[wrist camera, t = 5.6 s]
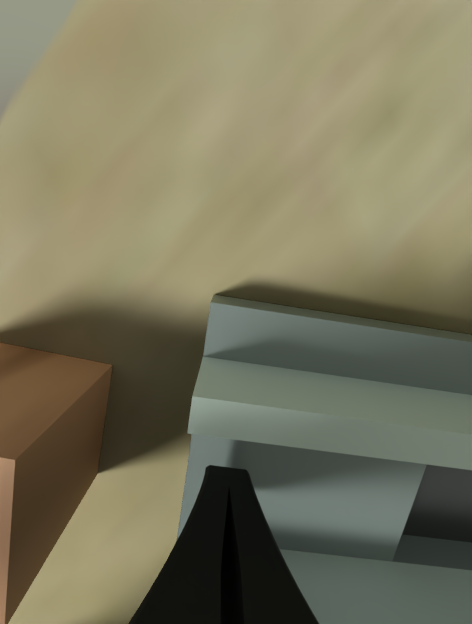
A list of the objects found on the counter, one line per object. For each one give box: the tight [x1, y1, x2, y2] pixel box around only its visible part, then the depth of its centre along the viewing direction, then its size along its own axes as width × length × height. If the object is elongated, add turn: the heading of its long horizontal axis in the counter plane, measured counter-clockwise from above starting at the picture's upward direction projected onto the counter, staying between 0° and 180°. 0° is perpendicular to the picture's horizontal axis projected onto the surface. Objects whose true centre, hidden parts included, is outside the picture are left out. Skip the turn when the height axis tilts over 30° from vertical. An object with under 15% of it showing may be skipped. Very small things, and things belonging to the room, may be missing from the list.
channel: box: [176, 295, 472, 624], centre depth 10 cm, size 12×16×4 cm
